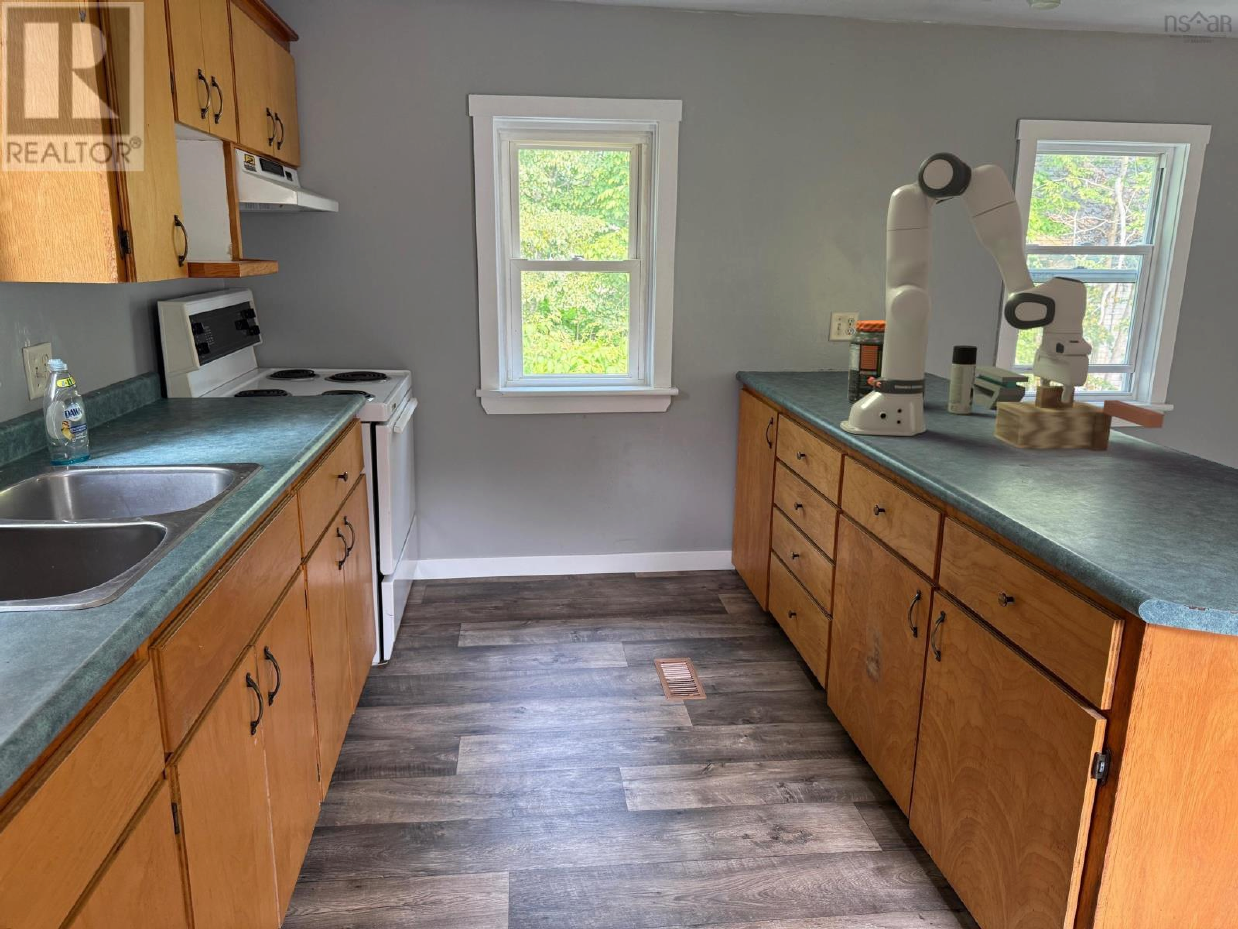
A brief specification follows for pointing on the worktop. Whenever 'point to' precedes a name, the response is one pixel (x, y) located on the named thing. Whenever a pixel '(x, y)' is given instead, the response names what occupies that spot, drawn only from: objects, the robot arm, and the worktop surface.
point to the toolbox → (1053, 431)
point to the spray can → (962, 379)
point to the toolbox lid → (1050, 405)
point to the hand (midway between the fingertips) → (1054, 399)
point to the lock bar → (1133, 414)
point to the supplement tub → (865, 357)
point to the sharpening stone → (997, 386)
